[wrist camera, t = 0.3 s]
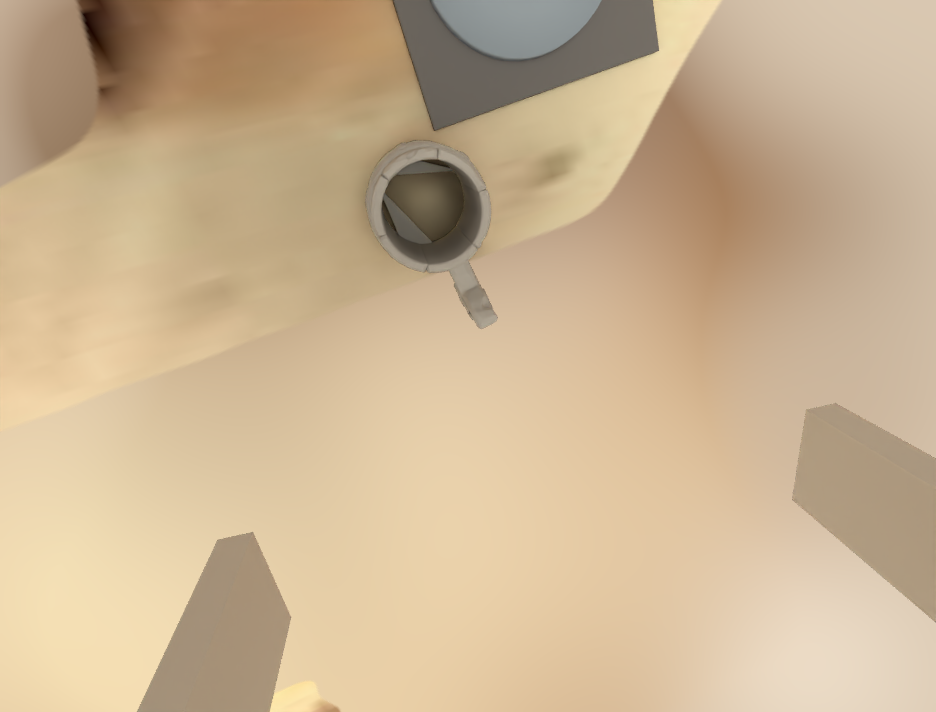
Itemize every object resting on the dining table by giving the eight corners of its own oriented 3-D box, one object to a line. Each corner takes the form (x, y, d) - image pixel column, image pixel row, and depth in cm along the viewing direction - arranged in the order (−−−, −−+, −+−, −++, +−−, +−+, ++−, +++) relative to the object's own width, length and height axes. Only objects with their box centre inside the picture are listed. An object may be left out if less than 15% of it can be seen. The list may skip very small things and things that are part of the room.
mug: (445, 119, 32) (470, 97, 21) (514, 272, 37) (565, 319, 26) (347, 173, 32) (321, 179, 21) (428, 317, 37) (441, 383, 26)
